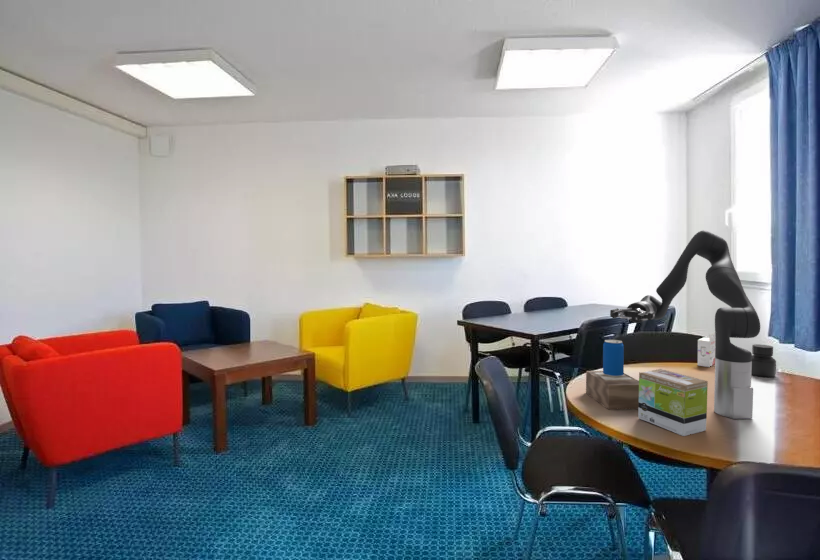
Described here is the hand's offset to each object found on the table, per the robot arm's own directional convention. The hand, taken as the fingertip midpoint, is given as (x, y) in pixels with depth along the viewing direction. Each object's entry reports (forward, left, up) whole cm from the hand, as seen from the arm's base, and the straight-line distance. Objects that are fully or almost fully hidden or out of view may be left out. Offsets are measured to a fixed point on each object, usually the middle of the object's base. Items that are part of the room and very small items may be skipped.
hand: (625, 316), depth 164 cm
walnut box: (-9, +8, -28) cm, 30 cm away
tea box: (-32, +2, -28) cm, 42 cm away
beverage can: (-8, +8, -20) cm, 22 cm away
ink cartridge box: (+38, -56, -28) cm, 73 cm away
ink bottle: (+20, -67, -28) cm, 75 cm away
